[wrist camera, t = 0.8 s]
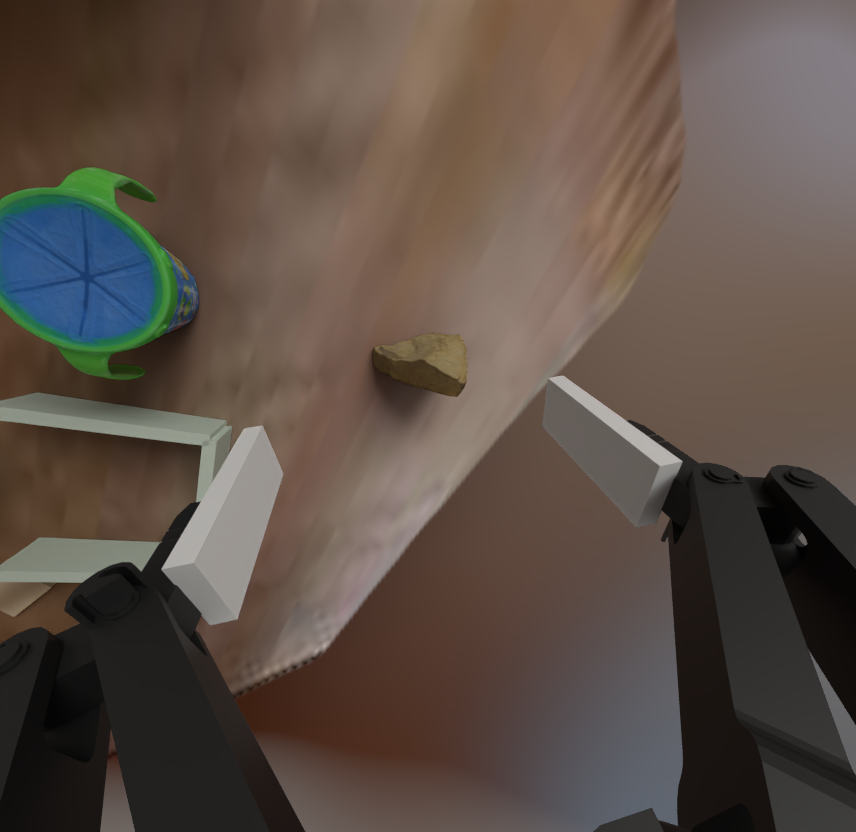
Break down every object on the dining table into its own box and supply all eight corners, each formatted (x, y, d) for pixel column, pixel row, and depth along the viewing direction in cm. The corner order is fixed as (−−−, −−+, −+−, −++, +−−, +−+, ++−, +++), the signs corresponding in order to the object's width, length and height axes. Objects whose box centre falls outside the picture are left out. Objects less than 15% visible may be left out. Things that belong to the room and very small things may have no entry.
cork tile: (-25, 584, 34) (-37, 593, 33) (13, 554, 34) (2, 562, 33) (24, 608, 36) (13, 617, 35) (60, 579, 36) (51, 587, 35)
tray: (39, 546, 34) (-8, 582, 30) (37, 392, 31) (-17, 404, 26) (216, 552, 39) (200, 583, 35) (233, 421, 36) (217, 436, 31)
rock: (355, 386, 36) (432, 421, 38) (372, 345, 29) (466, 391, 31) (386, 320, 41) (453, 354, 43) (407, 271, 34) (486, 314, 36)
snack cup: (103, 177, 28) (-18, 103, 18) (236, 233, 31) (191, 195, 22) (76, 348, 31) (-41, 359, 21) (201, 382, 34) (148, 404, 25)
